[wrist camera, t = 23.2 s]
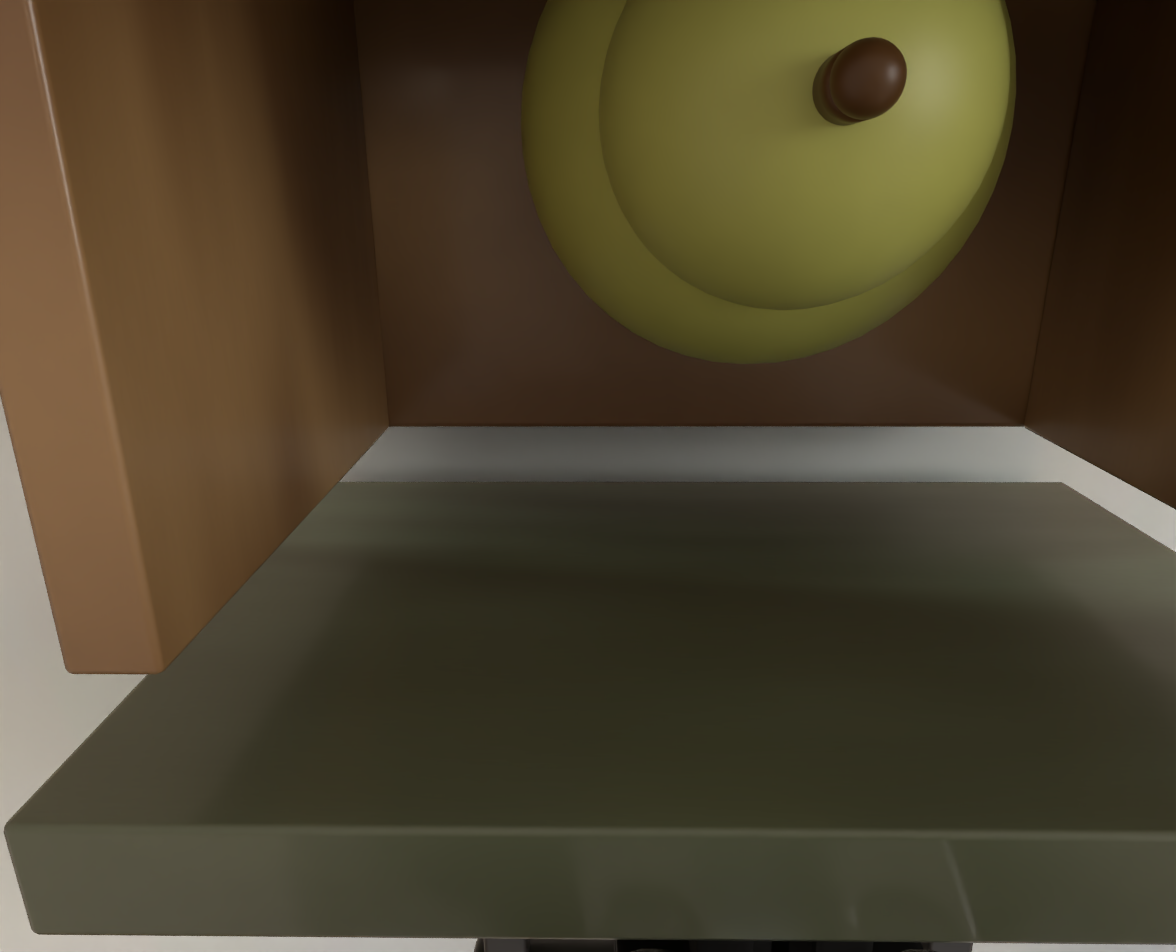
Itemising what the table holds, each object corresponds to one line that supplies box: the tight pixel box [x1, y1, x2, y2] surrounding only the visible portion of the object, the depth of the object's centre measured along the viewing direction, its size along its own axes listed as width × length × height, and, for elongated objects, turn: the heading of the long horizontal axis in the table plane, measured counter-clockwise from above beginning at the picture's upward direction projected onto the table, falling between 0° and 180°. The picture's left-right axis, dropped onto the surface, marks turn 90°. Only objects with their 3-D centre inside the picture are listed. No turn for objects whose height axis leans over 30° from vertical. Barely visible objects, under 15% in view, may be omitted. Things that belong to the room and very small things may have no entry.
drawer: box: [0, 0, 1176, 952], centre depth 10 cm, size 20×13×9 cm
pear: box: [521, 0, 1016, 364], centre depth 9 cm, size 5×5×7 cm
